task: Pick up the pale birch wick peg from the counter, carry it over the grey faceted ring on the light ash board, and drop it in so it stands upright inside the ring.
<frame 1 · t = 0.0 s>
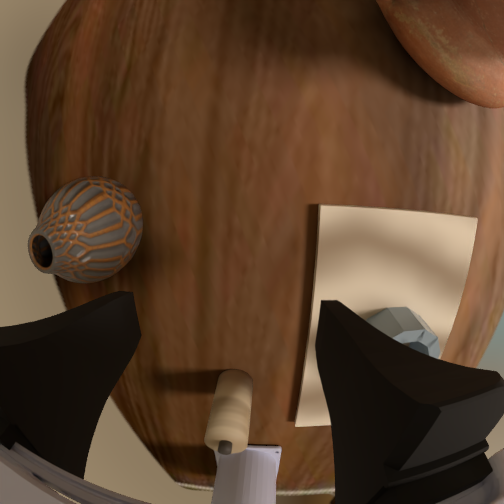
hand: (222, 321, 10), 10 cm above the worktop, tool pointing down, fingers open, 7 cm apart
grey faceted ring: (387, 342, 21), resting on board
board: (384, 337, 21), on the worktop
vase: (117, 217, 20), on the worktop
ceramic jug: (437, 33, 13), on the worktop
wick peg: (235, 381, 24), on the worktop
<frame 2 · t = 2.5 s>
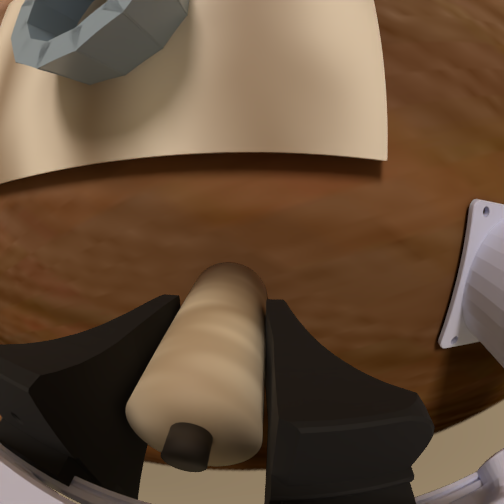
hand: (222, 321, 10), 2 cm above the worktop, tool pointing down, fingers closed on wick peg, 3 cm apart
grey faceted ring: (116, 16, 8), resting on board
board: (124, 23, 8), on the worktop
wick peg: (229, 297, 12), on the worktop, touching gripper
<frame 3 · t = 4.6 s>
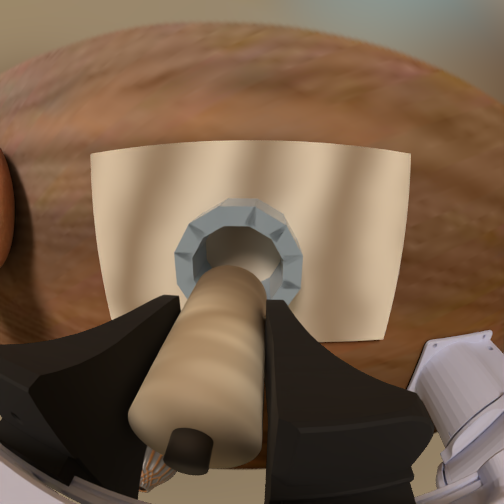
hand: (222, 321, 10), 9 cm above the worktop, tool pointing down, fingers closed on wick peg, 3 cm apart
grey faceted ring: (243, 251, 18), resting on board
board: (244, 247, 19), on the worktop
vase: (160, 428, 26), on the worktop
wick peg: (229, 299, 12), point 7 cm above the worktop, touching gripper
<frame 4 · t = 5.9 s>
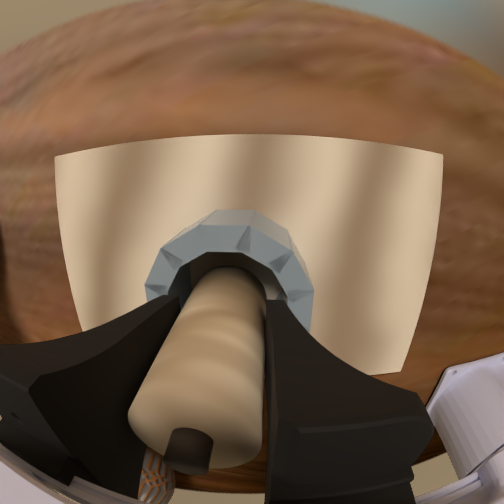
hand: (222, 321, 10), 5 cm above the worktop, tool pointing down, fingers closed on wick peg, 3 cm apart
grey faceted ring: (235, 276, 14), resting on board
board: (237, 270, 15), on the worktop
vase: (150, 454, 22), on the worktop
wick peg: (229, 299, 12), point 3 cm above the worktop, touching gripper
when the fingers open (5 cm above the worktop, at t = 6.6 s): wick peg drops 2 cm, resting on board.
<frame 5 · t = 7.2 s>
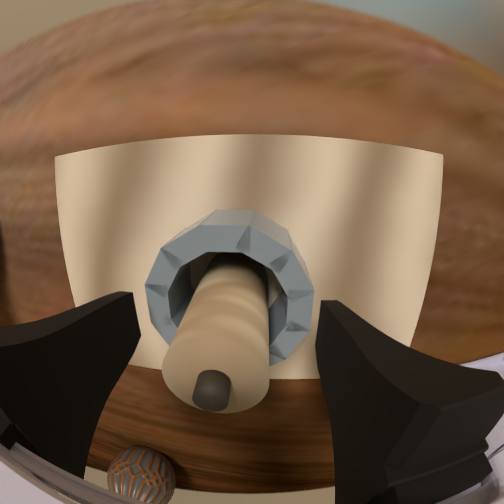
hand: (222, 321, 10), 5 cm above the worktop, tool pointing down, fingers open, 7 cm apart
grey faceted ring: (236, 276, 14), resting on board
board: (237, 270, 15), on the worktop
vase: (150, 454, 22), on the worktop
wick peg: (236, 278, 14), point 1 cm above the worktop, touching board
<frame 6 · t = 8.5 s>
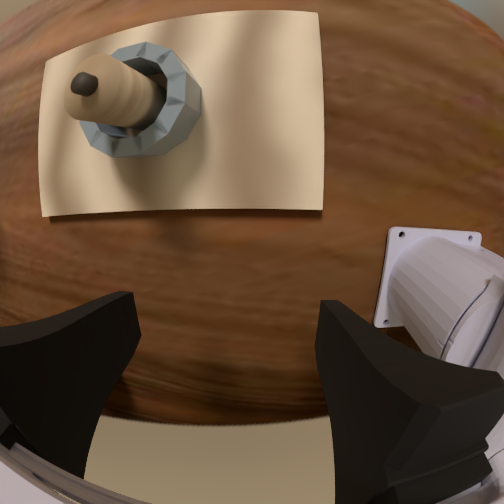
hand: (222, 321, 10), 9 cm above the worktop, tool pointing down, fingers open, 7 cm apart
grey faceted ring: (151, 107, 16), resting on board
board: (155, 109, 16), on the worktop
wick peg: (151, 108, 16), point 1 cm above the worktop, touching board
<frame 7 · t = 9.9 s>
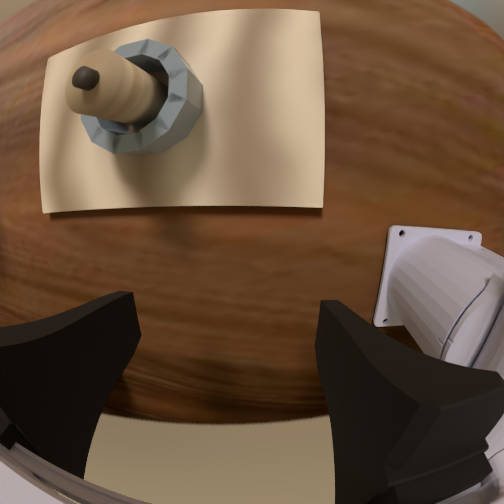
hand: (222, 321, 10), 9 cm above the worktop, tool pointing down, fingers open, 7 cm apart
grey faceted ring: (152, 104, 16), resting on board
board: (157, 106, 16), on the worktop
wick peg: (152, 105, 16), point 1 cm above the worktop, touching board
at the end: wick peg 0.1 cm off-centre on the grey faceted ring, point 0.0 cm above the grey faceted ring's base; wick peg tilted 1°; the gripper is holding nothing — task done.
